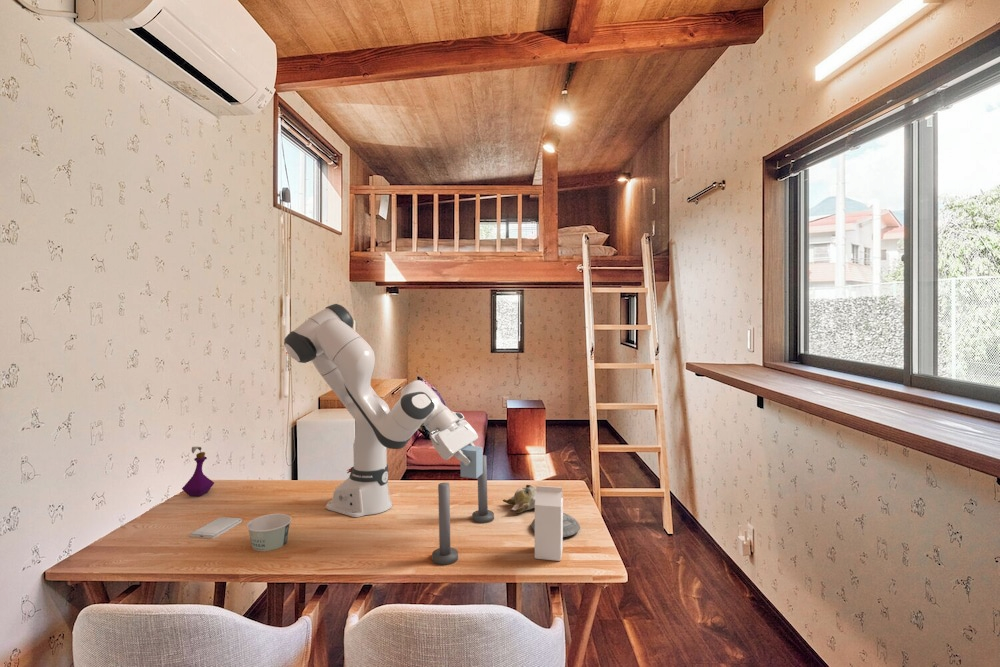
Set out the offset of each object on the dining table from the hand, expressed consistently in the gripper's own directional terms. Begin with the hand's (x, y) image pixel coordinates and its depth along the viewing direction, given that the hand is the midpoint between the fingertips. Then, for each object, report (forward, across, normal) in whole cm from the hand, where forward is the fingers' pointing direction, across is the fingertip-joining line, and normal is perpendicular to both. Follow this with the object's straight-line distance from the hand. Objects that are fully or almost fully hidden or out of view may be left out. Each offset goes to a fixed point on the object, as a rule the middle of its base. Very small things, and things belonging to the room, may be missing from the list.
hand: (473, 460), depth 148 cm
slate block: (+3, 0, +4) cm, 4 cm away
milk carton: (+33, -2, 0) cm, 33 cm away
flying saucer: (+32, +14, +2) cm, 35 cm away
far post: (+15, +14, +18) cm, 27 cm away
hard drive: (-38, -21, +72) cm, 84 cm away
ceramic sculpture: (+23, +26, +11) cm, 37 cm away
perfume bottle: (-61, -1, +94) cm, 112 cm away
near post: (+15, -14, +18) cm, 27 cm away
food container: (-22, -23, +55) cm, 64 cm away
